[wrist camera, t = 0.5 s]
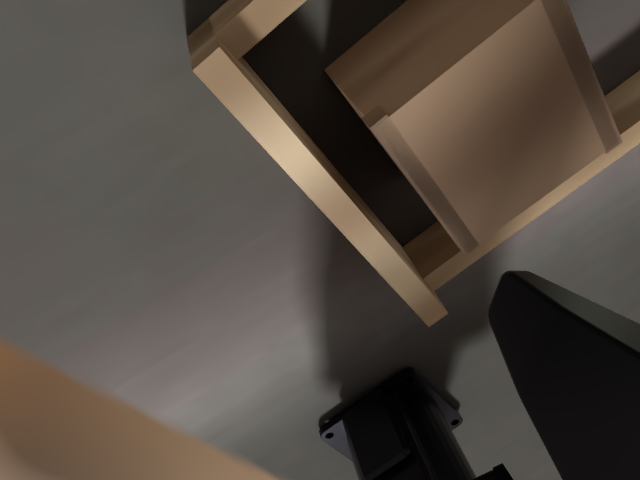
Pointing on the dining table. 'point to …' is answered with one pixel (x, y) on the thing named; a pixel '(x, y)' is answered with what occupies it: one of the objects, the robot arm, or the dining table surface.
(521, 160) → the crate
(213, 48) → the bay
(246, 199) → the dining table surface
